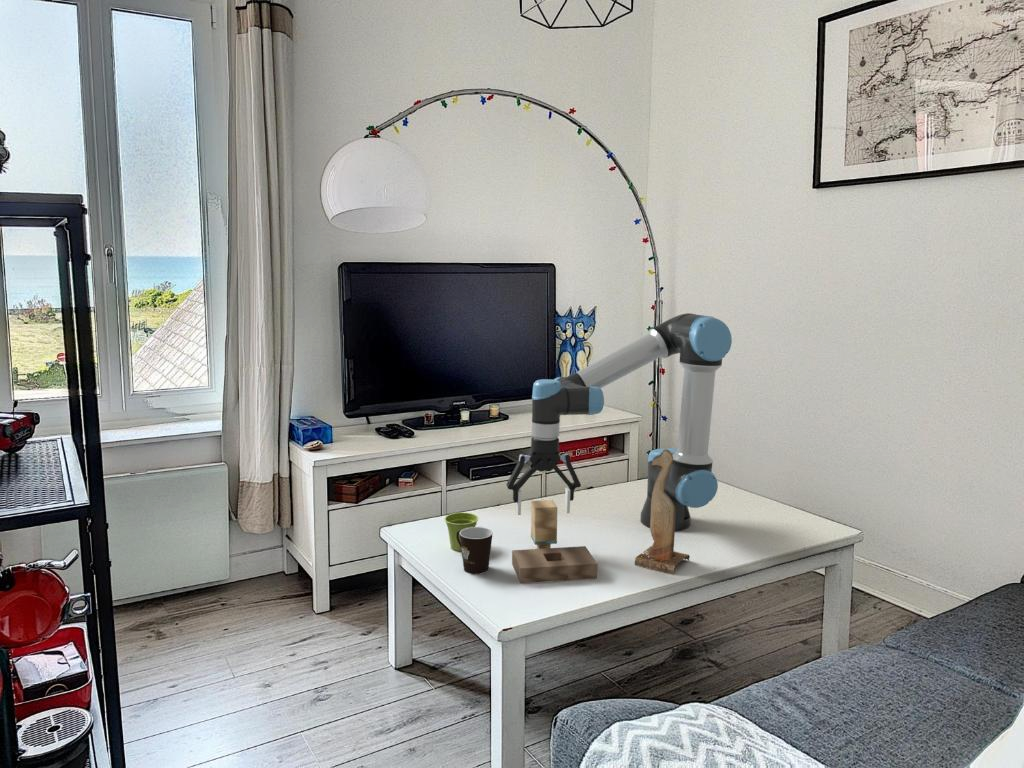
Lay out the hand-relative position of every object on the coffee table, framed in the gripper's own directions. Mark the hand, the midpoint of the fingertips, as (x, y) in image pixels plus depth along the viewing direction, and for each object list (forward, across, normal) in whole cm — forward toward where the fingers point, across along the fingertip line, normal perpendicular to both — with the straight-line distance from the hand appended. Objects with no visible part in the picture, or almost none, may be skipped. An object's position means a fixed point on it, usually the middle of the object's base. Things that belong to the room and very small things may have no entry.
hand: (542, 512), depth 215 cm
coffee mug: (+12, +20, +7) cm, 24 cm away
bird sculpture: (+11, -30, +12) cm, 35 cm away
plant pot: (+12, +22, -7) cm, 26 cm away
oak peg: (+12, 0, 0) cm, 12 cm away
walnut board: (+12, 0, +13) cm, 17 cm away
